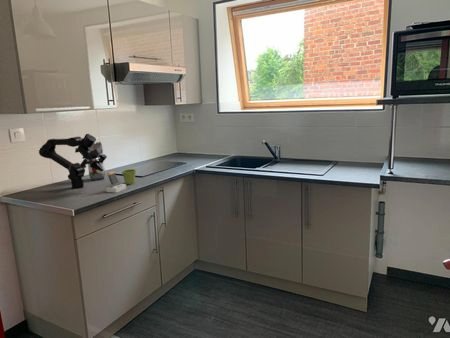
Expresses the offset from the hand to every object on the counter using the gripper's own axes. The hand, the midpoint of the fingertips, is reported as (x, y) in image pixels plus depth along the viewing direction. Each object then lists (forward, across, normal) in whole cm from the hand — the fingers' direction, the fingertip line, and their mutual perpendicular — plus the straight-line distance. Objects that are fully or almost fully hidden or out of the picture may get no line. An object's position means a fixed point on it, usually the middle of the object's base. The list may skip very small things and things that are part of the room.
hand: (102, 170), depth 213 cm
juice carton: (-8, +23, +25) cm, 35 cm away
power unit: (+14, 0, +2) cm, 14 cm away
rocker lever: (+12, 0, 0) cm, 12 cm away
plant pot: (+14, +16, +3) cm, 21 cm away
